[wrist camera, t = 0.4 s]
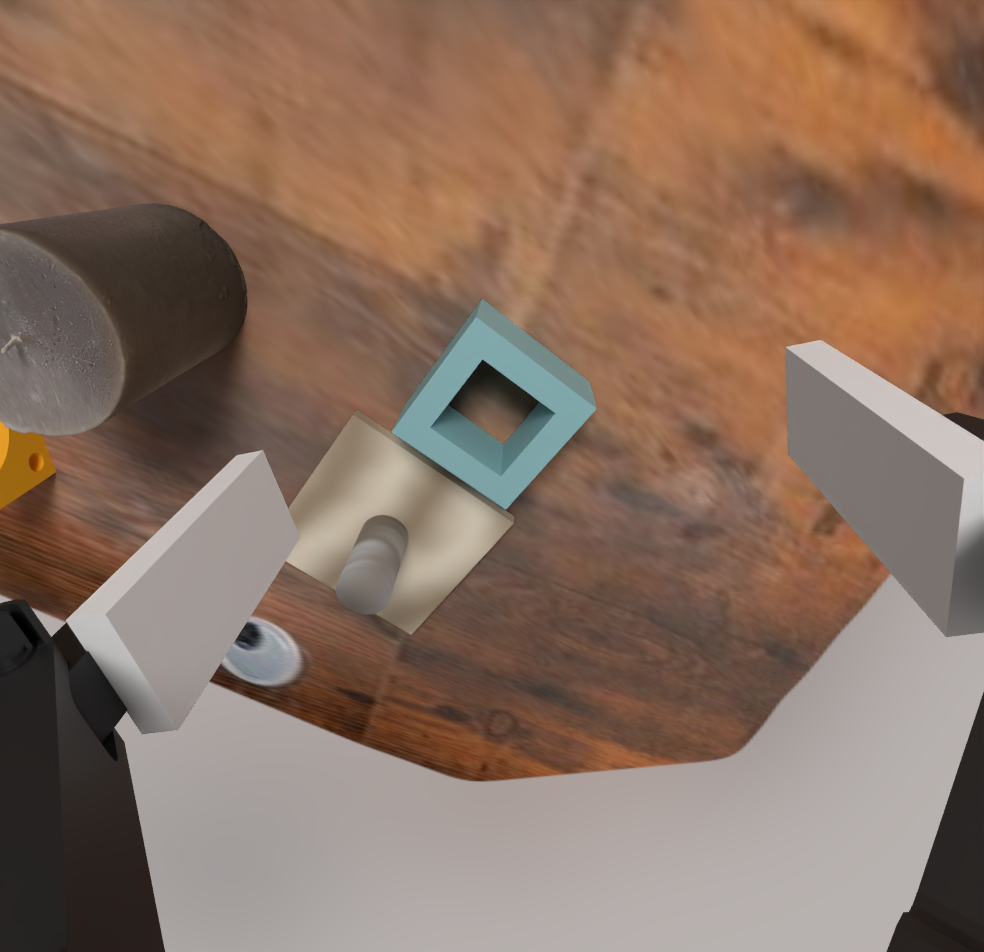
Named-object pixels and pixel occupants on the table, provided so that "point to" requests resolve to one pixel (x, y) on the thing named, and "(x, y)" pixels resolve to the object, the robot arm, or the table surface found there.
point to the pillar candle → (108, 311)
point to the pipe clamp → (21, 463)
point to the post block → (390, 526)
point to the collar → (471, 447)
